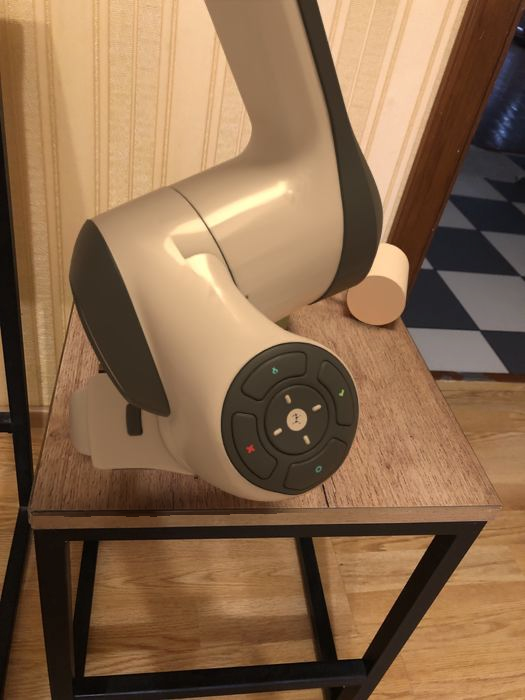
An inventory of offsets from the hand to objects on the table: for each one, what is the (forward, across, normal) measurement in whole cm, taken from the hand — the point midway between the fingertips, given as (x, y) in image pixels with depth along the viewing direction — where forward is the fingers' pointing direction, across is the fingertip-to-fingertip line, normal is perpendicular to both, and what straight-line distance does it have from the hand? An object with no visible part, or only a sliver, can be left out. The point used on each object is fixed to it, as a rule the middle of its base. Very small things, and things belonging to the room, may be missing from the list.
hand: (183, 409), depth 54 cm
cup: (+19, -30, -14) cm, 37 cm away
